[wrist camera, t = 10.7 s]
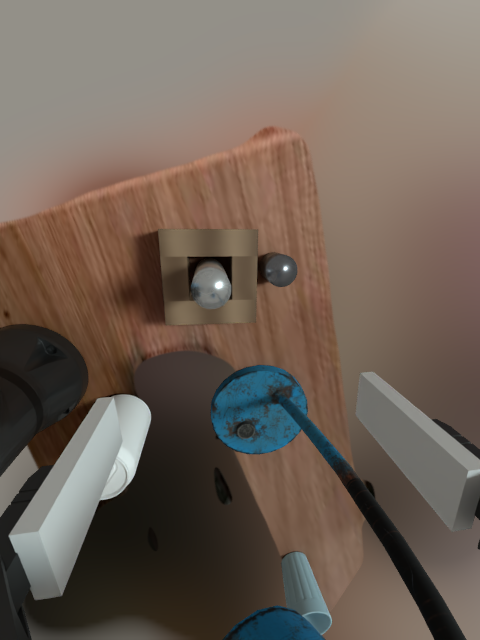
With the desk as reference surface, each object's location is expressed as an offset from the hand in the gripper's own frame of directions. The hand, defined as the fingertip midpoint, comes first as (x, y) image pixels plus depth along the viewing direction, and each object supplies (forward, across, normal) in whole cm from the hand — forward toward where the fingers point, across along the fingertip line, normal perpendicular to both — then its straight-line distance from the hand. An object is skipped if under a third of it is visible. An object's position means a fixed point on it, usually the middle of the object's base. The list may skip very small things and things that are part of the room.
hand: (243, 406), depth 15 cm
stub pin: (+27, +8, +4) cm, 28 cm away
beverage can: (+27, -16, -18) cm, 36 cm away
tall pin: (+27, -1, +4) cm, 27 cm away
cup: (+27, +12, -58) cm, 65 cm away
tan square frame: (+27, -1, +3) cm, 27 cm away
